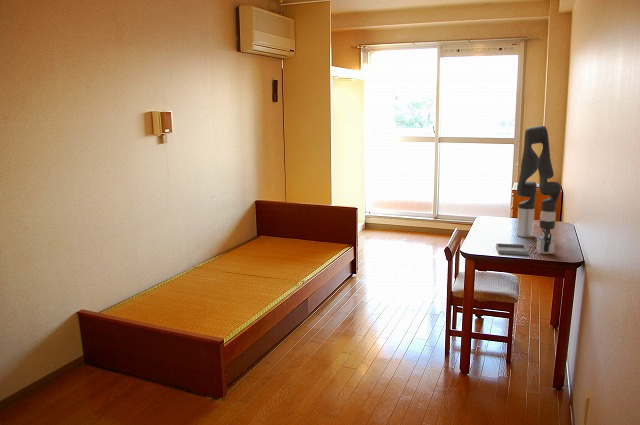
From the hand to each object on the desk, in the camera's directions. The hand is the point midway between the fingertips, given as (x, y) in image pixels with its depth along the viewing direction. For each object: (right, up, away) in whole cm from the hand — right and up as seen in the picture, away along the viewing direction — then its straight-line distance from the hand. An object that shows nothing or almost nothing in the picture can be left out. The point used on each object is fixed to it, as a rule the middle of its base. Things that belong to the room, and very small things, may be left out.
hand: (545, 250), depth 282 cm
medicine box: (0, -2, 0) cm, 2 cm away
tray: (-17, -1, +4) cm, 17 cm away
